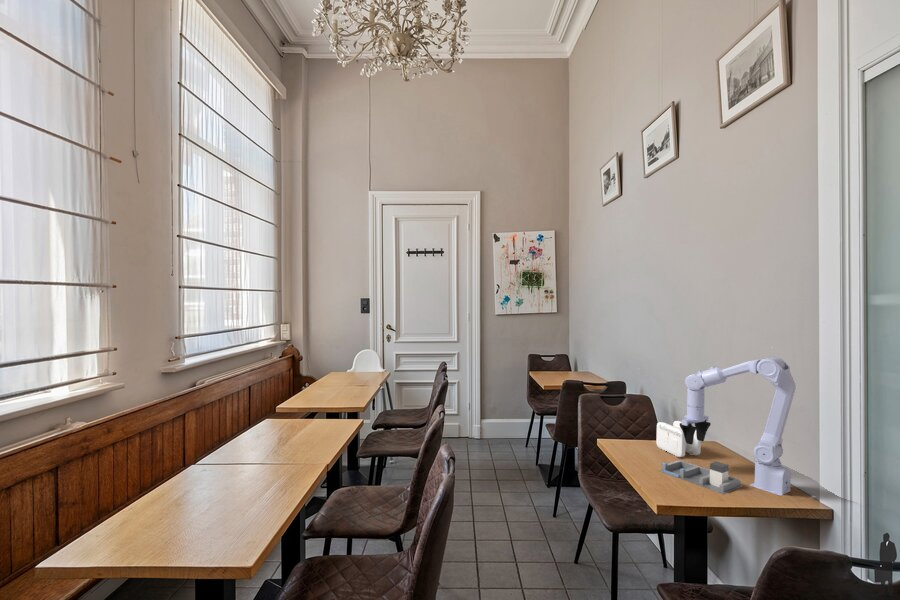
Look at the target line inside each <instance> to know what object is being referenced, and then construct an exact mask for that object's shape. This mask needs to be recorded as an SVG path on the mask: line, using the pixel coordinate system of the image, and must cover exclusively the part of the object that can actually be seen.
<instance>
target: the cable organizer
mask: <svg viewBox="0 0 900 600" xmlns="http://www.w3.org/2000/svg"><path fill="white" fill-rule="evenodd" d="M680 423H682V420H675V421H673V423H672V425H671V424H669V423H666V422H664V421H663V422H662V421H661V422H660V421H659V422H657V423H656V446H657V447H658V449H660V450H661V449H662V450H661V451H663V450H665V451H667V452H666V453H669V454H671V455H672V454H673V455H675V456H674V457H676V456H677V457H676V458H684V457H685V456H686V452H687V454H689V453H690V454H689V455H691V454H692V455H691V456H693V455H695V456H699V455H700V454H701V453H702V452H701V451H702V441H699V440H697V435H696V430H695V433H694V438H693V444H692V445H691V444H687V443H686V441H685V437H684V433H683V431H682V429H681V427H680ZM693 426H694V427H695V425H693ZM665 451H664V452H665ZM673 455H672V456H673Z"/></svg>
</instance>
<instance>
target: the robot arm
mask: <svg viewBox="0 0 900 600" xmlns="http://www.w3.org/2000/svg"><path fill="white" fill-rule="evenodd" d="M790 369H791V368H790V366H789V365H788V364H787V363H786V361H784V360H783V359H782V358H780V357H777V356H772V357H768V358H759V359H753V360H748V361H745V362H742V363H738V364H735V365H732V366H729V367H727V368H723V367H719V366H716V367H715V365H713V366H711V367H709V369H706V370H703V371H702V370H699V371H697V373H692V374H690V375H688V376H686V377H685V379H684V385H685V386H686V387H687V389H686V393H687V394H686V415H684V416H683V418H682V419H681V422H682V423H680V427H681V429H682V431H683V433H684V437H685V441H686V443H687V444H691V445H692V444H693V438H694V433H695V430H696V435H697V440H699V441H701V442H704V441H705V439H706V438H705V437H706V435H707V431H708V429H709V428H710V426H711V422H709V415H706V414H705V388H709V387H711V386H715V385H719V384H723V383H725V382H726V381H727V379H728V378H730V377H734V376H738V375H742V374H745V373H752V374H754V375H757V374H759V375H760V376H762V377H763V378H764V379H766V380H768V381H769V382H770V383H771V384H772V385H773V387H774V388H775V392H774V396H773V399H772V402H771V407H770V410H769V414H768V417H767V420H766V424H765V428H764V431H763V434H762V436H761V437H760V439H759V441H758V444H757V445H755V447H754V448H753V457H754V458H755V459H754V482H753V483H750V484H749V487H753V488H757V489H759V490H762V491H766V492H769V493H771V494H774V495H778V496H783V495H785V494H788V493H789V492H790V493H791V491H792V490H791V479H792V478H791V475H792V474H791V469H790V468H789V467H786V466H784V465H783V464H782V462H781V459H780V457H782V456H783V454H784V449H783V446H782V445H783V444H782V443H783V440H784V439H783V433H784V430H785V426H786V424H787V420H788V417H789V413H790V410H791V406H792V402H793V399H794V397H795V396H794V395H795V391H796V389H797V388H796V387H797V385H796V383H795V381H794V377H793V376H792V373H791V370H790ZM693 424H694V425H693ZM694 426H695V427H694Z"/></svg>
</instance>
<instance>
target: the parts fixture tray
mask: <svg viewBox="0 0 900 600" xmlns="http://www.w3.org/2000/svg"><path fill="white" fill-rule="evenodd" d="M657 471H658V472H660V473H663V474H667V475H669V476H671V477H674V478H676V479H680V480H682V481H684V482H688V483H690V484H693V485H696V486H699V487H701V488H705V489H707V490H711V491H713V492H716V493H719V494H722V495H726V494H728V493H730V492H732V491H735V490H737V489H740V488H742V487H744V485H742V484H741V479H740V478H737V477H734V476H730V475H728V482H726V483H723V484H720V487H717V486H714V485H711V484H710V468H706V467H702V466H699V465H697V464H693V463H690V462H686V461H684V460H682V459H681V460H680V459H678V460H674V461H671V462H669V463H667V462H662V463H661V469H659V470H657Z"/></svg>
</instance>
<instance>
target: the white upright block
mask: <svg viewBox="0 0 900 600" xmlns="http://www.w3.org/2000/svg"><path fill="white" fill-rule="evenodd" d="M709 470H710V484H711V485H714V486H717V487H720V484H723V483H726V482H728V476H729V464H726V463H723V462H719V461H712V462H710V463H709Z"/></svg>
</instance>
